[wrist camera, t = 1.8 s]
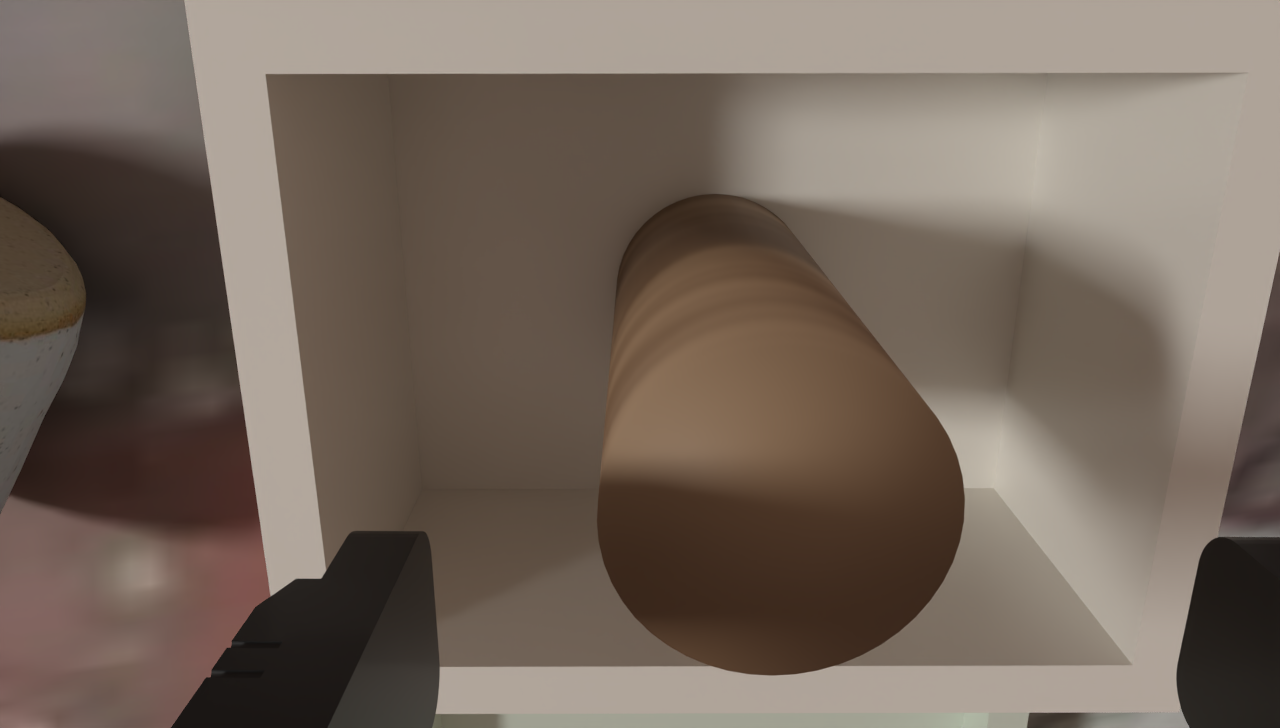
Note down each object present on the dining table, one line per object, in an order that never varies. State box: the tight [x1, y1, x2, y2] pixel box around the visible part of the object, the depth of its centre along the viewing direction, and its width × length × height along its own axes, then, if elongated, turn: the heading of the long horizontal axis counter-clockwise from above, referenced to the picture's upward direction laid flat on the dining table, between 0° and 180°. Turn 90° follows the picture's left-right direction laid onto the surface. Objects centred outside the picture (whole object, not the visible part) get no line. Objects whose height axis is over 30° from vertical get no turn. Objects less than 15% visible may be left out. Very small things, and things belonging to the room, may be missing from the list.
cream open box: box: [184, 0, 1280, 714], centre depth 19 cm, size 12×16×8 cm
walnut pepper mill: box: [597, 194, 965, 676], centre depth 17 cm, size 4×4×11 cm
